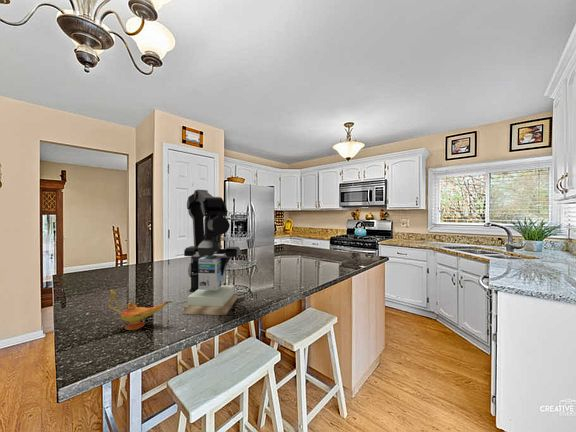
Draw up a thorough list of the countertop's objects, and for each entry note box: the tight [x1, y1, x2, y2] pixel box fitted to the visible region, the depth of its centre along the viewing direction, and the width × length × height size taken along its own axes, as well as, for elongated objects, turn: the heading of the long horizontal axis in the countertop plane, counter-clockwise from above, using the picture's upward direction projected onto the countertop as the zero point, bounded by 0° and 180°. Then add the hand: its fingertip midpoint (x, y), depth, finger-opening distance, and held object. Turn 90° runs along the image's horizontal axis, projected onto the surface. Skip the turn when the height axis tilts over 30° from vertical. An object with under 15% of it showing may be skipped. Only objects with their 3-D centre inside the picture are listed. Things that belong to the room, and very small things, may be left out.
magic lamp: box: [107, 289, 173, 331], centre depth 76 cm, size 7×18×11 cm, turn 99°
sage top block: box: [187, 284, 236, 307], centre depth 93 cm, size 12×14×3 cm
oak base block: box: [183, 291, 239, 316], centre depth 93 cm, size 14×16×3 cm
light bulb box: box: [199, 254, 226, 290], centre depth 92 cm, size 11×7×11 cm, turn 178°
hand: (212, 275), depth 93 cm, fingers closed on light bulb box, 7 cm apart
